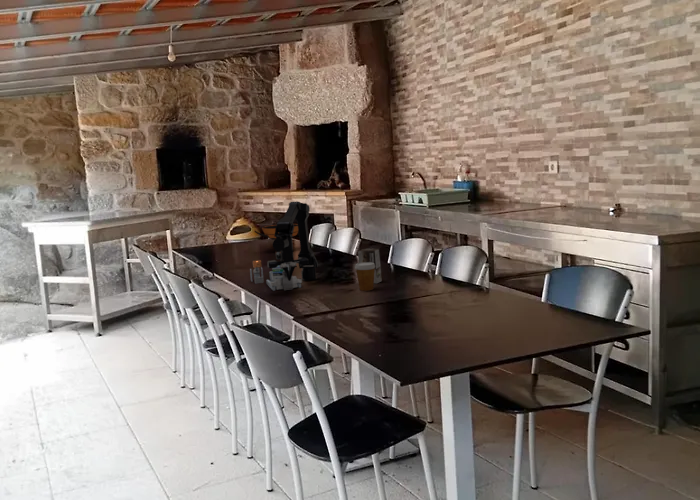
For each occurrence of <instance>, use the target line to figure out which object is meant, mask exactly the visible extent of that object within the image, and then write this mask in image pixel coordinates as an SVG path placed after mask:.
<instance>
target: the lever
mask: <svg viewBox="0 0 700 500" xmlns="http://www.w3.org/2000/svg"><path fill="white" fill-rule="evenodd" d="M252 267H253V268H254V269H253V268H252V269H253V270H252V274H253V275H254V274H256V273H259V274H261V269H260V268H263V267H262V260H261V259H257V260H252Z"/></svg>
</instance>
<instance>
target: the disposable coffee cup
mask: <svg viewBox="0 0 700 500" xmlns="http://www.w3.org/2000/svg"><path fill="white" fill-rule="evenodd" d="M354 268H355V271H356V276H357V283H358V286H359V291H361V292H362V291H363V292H364V291H365V292H366V291H367V292H368V291H372V290H374V285H375V283H374V270H375V264H374V263H372V262H363V263H359V262H358V263H356V264H355V265H354Z"/></svg>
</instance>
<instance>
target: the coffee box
mask: <svg viewBox="0 0 700 500" xmlns="http://www.w3.org/2000/svg"><path fill="white" fill-rule="evenodd" d="M380 250H381V249H380V248H362V249H360V250H358V251H357V253H358V263H363V262H372V263H374V264H375V270H374V284H379V283H380V282H382V278H383V277H382V265H381V252H380Z"/></svg>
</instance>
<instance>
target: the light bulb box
mask: <svg viewBox="0 0 700 500" xmlns="http://www.w3.org/2000/svg"><path fill="white" fill-rule="evenodd" d="M289 265H290V264H287V265H286V266H287V267H288V271H289ZM271 271H273V282H275V278H282V277H283V275H282V272H283V271H284V270H283V269H281V268H280V265H278V266H277V267H276V268H271ZM275 288H276V286H275Z"/></svg>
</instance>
